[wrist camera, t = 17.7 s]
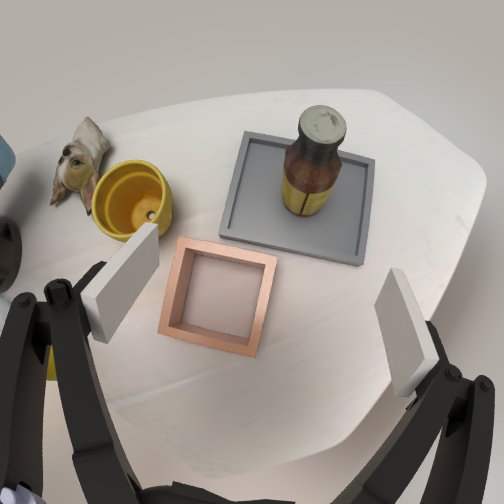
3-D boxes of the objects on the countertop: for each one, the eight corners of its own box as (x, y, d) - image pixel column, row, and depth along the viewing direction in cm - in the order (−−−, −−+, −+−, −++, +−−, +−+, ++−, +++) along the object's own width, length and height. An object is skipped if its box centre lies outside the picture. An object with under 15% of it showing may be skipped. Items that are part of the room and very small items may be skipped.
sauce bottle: (327, 183, 43) (369, 106, 23) (319, 223, 42) (363, 166, 22) (283, 172, 43) (297, 87, 24) (274, 212, 42) (283, 145, 23)
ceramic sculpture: (107, 113, 37) (70, 209, 36) (130, 136, 46) (100, 220, 45) (60, 111, 38) (26, 197, 37) (85, 131, 47) (57, 207, 46)
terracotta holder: (171, 328, 41) (157, 333, 36) (189, 244, 43) (178, 235, 37) (256, 349, 41) (255, 357, 35) (275, 262, 42) (277, 256, 36)
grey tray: (220, 237, 43) (218, 234, 41) (245, 139, 45) (244, 131, 43) (357, 266, 42) (363, 264, 39) (369, 166, 44) (375, 159, 42)
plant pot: (158, 171, 45) (136, 143, 35) (199, 218, 44) (182, 197, 34) (110, 216, 44) (78, 197, 34) (146, 265, 43) (117, 257, 33)
